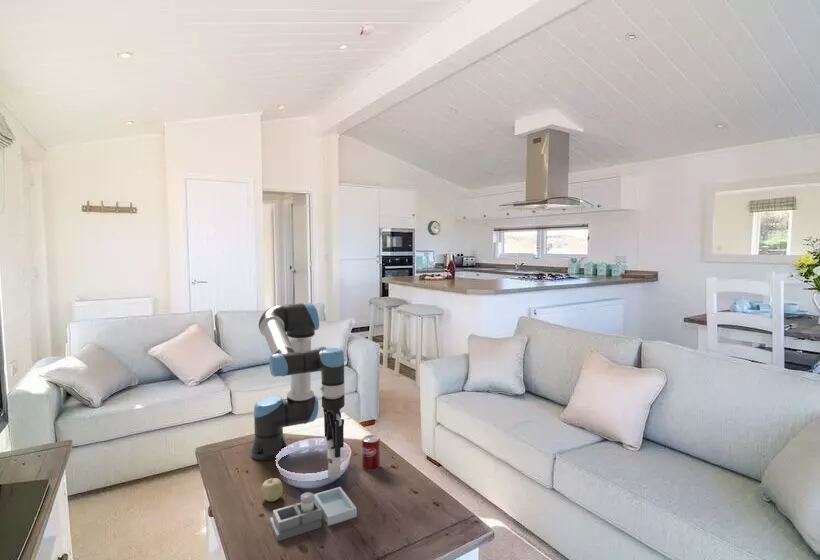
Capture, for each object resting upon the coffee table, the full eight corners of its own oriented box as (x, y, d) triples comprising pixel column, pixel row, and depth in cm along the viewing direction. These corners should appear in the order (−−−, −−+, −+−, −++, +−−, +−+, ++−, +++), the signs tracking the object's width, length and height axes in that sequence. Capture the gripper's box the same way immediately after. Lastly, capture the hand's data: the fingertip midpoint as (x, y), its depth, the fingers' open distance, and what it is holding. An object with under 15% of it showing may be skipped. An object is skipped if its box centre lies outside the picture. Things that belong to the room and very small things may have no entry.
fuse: (326, 474, 154) (325, 440, 153) (337, 471, 156) (337, 437, 155) (330, 480, 151) (330, 445, 150) (342, 476, 153) (341, 442, 152)
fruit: (287, 497, 162) (287, 475, 161) (271, 507, 156) (270, 485, 155) (273, 490, 166) (273, 469, 165) (256, 500, 160) (256, 478, 159)
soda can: (373, 473, 178) (372, 444, 177) (358, 468, 182) (358, 439, 181) (383, 465, 185) (383, 437, 184) (369, 460, 188) (369, 433, 187)
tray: (313, 502, 159) (313, 494, 159) (340, 494, 164) (340, 486, 163) (328, 526, 146) (327, 517, 146) (356, 516, 151) (356, 508, 151)
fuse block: (269, 523, 147) (269, 497, 146) (313, 510, 154) (313, 485, 153) (277, 541, 138) (276, 514, 138) (323, 526, 146) (323, 500, 145)
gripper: (314, 389, 157) (315, 454, 159) (331, 405, 142) (332, 476, 144) (334, 386, 160) (335, 449, 162) (353, 401, 145) (354, 470, 147)
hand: (334, 462), depth 153 cm, fingers closed on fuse, 4 cm apart
